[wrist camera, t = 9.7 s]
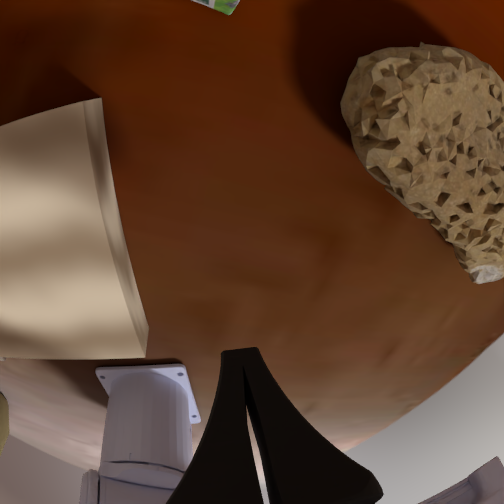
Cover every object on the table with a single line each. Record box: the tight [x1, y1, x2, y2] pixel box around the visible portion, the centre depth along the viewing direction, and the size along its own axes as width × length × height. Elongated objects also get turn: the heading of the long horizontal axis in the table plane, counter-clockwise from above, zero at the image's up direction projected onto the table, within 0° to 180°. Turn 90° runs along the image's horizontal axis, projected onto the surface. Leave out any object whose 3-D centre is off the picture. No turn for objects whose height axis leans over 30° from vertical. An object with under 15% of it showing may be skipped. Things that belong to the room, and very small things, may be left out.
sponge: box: [340, 42, 504, 284], centre depth 16 cm, size 13×8×20 cm
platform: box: [0, 98, 149, 359], centre depth 16 cm, size 16×13×3 cm
